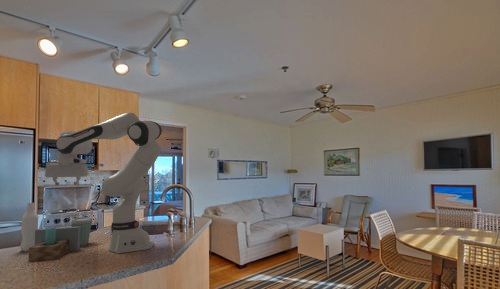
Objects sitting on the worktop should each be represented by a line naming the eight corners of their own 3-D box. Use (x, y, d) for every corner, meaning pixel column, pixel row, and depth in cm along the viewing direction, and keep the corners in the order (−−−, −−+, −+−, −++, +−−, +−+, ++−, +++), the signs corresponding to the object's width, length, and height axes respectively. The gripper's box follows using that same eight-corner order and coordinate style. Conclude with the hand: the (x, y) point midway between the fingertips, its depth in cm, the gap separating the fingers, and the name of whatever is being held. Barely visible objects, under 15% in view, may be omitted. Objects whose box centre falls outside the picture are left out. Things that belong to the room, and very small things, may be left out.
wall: (79, 249, 144) (80, 226, 145) (77, 250, 141) (78, 227, 142) (37, 252, 140) (38, 228, 141) (34, 254, 137) (35, 230, 138)
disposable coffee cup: (95, 241, 158) (96, 216, 159) (85, 247, 147) (85, 219, 149) (77, 242, 158) (78, 216, 159) (65, 247, 147) (66, 220, 148)
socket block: (68, 251, 140) (69, 239, 140) (57, 258, 128) (57, 245, 129) (42, 253, 137) (43, 241, 138) (28, 261, 126) (29, 247, 126)
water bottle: (22, 253, 139) (25, 204, 141) (17, 251, 143) (20, 203, 145) (39, 249, 145) (41, 202, 147) (33, 247, 149) (36, 202, 151)
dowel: (56, 251, 135) (57, 227, 136) (52, 253, 131) (53, 228, 132) (47, 251, 134) (48, 227, 135) (43, 254, 130) (44, 229, 132)
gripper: (43, 160, 144) (42, 186, 143) (85, 160, 148) (84, 185, 147) (49, 160, 150) (48, 185, 149) (89, 160, 155) (88, 184, 153)
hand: (66, 185), depth 148 cm, fingers open, 8 cm apart
